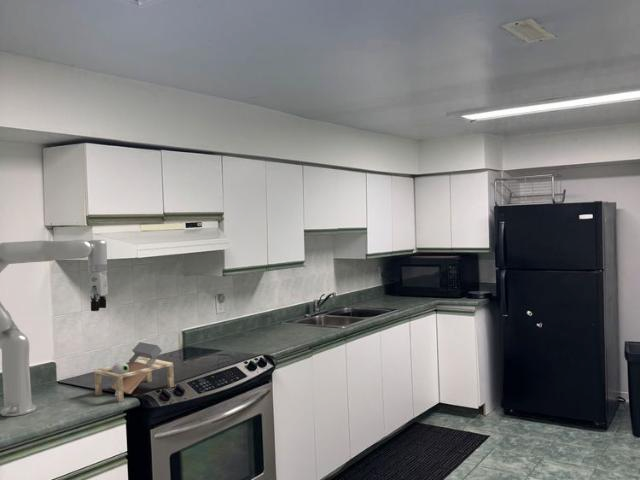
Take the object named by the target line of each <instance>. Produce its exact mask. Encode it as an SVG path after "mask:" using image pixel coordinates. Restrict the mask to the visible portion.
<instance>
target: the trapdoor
mask: <svg viewBox="0 0 640 480" xmlns="http://www.w3.org/2000/svg"><path fill="white" fill-rule="evenodd" d="M131 351H132V352H133V353H134V354H133V356H131V357H130V358H129V360H128V362H130V363H131V364H132V365H129V369H130V372H133V371H137V370H141V369H145V368H149V367H152V366H151V365H152V364H153V363H154V362H155V361H156V359H157V358H158V357H159V355H160V354H161V353H162V351H163V350H162V349H161V348H160V346H159V345H157V344H152V343H146V342H141V341H139V342H138V343H137V344H136V345H135V347H134V348H132V350H131ZM139 357H141V358H144V359H145V358H150V360H149V361H148V362H147V363H146V365H144V364H139V363H135V362H134V361H136V360H138V358H139ZM149 372H150V371H148V372H144V373H140V374H136V375H132V376H128V377H126V378H124V379H123V393H124V394H125V393H126V394H129V395H130V394H132V393H133V392H134V390H135V389H136V388H137V387H138V386H139V385H140V384H141V382H143V380H145V379H146V375H147V374H148V373H149ZM110 388H111V389H112V390H115V391H116V381H115V382H114V384H113V385H111V387H110Z"/></svg>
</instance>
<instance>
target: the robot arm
mask: <svg viewBox="0 0 640 480" xmlns="http://www.w3.org/2000/svg"><path fill="white" fill-rule="evenodd" d="M107 245H108V243H107V241H106V240H105V239H90V240H84V239H74V240H73V239H72V240H62V241H61V240H59V241H57V240H31V241H25V240H24V241H11V242H9V241H8V242H5V241H4V242H0V273H1V272H3V271H4V270H5V269H6V268H7V267H8V266H9V265H13V264H26V263H42V262H44V263H46V262H52V261H53V262H54V261H60V260H61V261H62V260H63V261H65V260H75V259H76V260H77V259H78V260H79V259H85V258H87V264H88V265H87V269H88V270H87V271H88V274H89V295H90V296H89V298H90V311H91V312H99V311H100V309H106V308H107V295H108V294H109V286H108V276H107V275H108V274H107V273H108V252H107V251H108V247H107ZM0 350H1V374H2V386H3V387H2V388H3V405H4V406H3V407H4V408H2V409H1V410H0V415H1V416H2V417H18V416H23V415H26V414H29V413H32V412H34V411H36V409H37V405H36V404H34V403H33V402H32V388H31V387H32V386H31V370H30V341H29V338H28V336H27V335H25V333H24V332H22V331H21V330H20V329H19V328H18V326H17V324H16V323H15V322H14V320H13V319H12V316H11V313H10V312H9V311H8V309H6V308H5V306H4V305H3V303H1V301H0Z"/></svg>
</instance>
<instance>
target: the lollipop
mask: <svg viewBox="0 0 640 480" xmlns="http://www.w3.org/2000/svg"><path fill="white" fill-rule="evenodd" d="M126 363H127V362H122V361H120V362H118V363H116V364H114V365H113V366H114V367H113V369H112V370H111V373H115V374H119V375H121V374H125V373H129V372H130V369H129V367H130V365H129V366H128V365H127V364H126ZM124 378H126V377H124ZM124 378H123V379H124ZM114 397H116V391H115V393H114Z"/></svg>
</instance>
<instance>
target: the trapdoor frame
mask: <svg viewBox="0 0 640 480" xmlns="http://www.w3.org/2000/svg"><path fill="white" fill-rule="evenodd" d="M155 359H156V361H155V362H154V363H153V364H152V365H151V366H152V367H149V368H145V369H141V370H137V371H133V372H129V373H125V374H121V375H119V374H115V373H112V369H113V367H114V365H111V366H106V367H102V368H98V369H94V370H93V371H94V373H93V374H94V375H93V377H94V389H95V391H94V392H95V393H94V394H95V396H102V395H103V385H102V383H103V381H102V376H106V377H109V378H112V379H115V382H116V390H115V392H116V396H115V399H116V402H117V403H122V402H124V401H125V400H124V398H125V397H124V392H123V378H124V377H128V376H132V375H136V374H140V373H144V372H148V371H150V372H149V373H148V374H147V375H146V377H145V382H147V383H150V382H152V381H153V374H152V372H153V371H154V370H156V371H157V370H159V369H162V368H163V369H164V368H166V379H167V388H174V387H175V376H174V363H173V362H172V361H171V362H170V361H168V360H166V361H165V360H161V359H157V358H155ZM149 360H150V358H145V357H144V358H142V359H141V358H140V359H136V360H135V361H134V362H135V363H139V364H144V365H146V363H147V362H148V361H149ZM125 363H126V364H127V365H128V366H129V367H130V366H131V365H132V364H131V363H130V362H129V361H128V362H125ZM110 371H111V372H110Z"/></svg>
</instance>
